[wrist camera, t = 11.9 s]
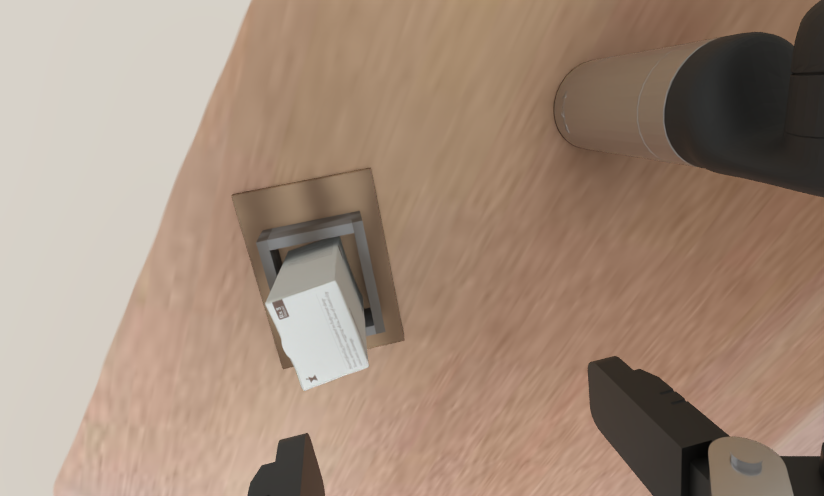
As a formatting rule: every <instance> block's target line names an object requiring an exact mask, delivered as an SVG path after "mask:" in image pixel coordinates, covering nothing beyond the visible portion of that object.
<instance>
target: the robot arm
mask: <svg viewBox="0 0 824 496" xmlns="http://www.w3.org/2000/svg"><path fill="white" fill-rule="evenodd" d="M554 115H555V121H556V124H557V127H558V129H559V131H560V133H561V134H562V136H563V137H564V138H565V139H566V140H567V141H568V142H569V143H571V144H573V145H574V146H576V147H580V148H583V149H589V150H595V151H601V152H606V153H613V154H619V155H625V156H631V157H638V158H644V159H650V160H656V161H663V162H669V163H676V164H682V165H689V166H695V167H700V168H706V169H708V170H710V171H713V172H716V173H720V174H724V175H730V176H735V177H740V178H745V179H749V180H754V181H758V182H762V183H767V184H771V185H775V186H779V187H783V188H787V189H791V190H795V191H799V192H803V193H807V194H811V195H816V196H820V197H824V0H821V1H819V2H818V3H817V4H815V5H814V6H813V7H812V8H811V9H810V10H809V11H808V12H807V13H806V15H805V16H804V17H803V19H802V21H801V23H800V26H799V29H798V32H797V36H796V40H795V44H794V46H793V45H792V44H791V43H790V42H788V41H787V40H785V39H783V38H781V37H779V36H777V35H774V34H768V33H763V32H751V33H741V34H736V35H730V36H725V37H719V38H714V39H708V40H703V41H697V42H692V43H687V44H681V45H676V46H670V47H665V48H659V49H653V50H648V51H642V52H637V53H631V54H625V55H620V56H613V57H608V58H603V59H597V60H592V61H588V62H585V63H583V64H580V65H579V66H577V67H576V68H575V69H573V70H572V71H571V72H570V73H569V74H568V75H567V76H566V77H565V79H564V80H563V82H562V83H561V85H560V87H559V90H558V92H557V95H556V99H555V105H554ZM588 381H589V398H590V410H591V414H592V417H593V419H594V422H595V424H596V426H597V427H598V429H599V430H600V431H601V433H602V434H603V435H604V436H605V438H606V439H607V440H608V441H609V442H610V444H611V445H612V446H613V447H614V449H615V450H616V451H617V452H618V453H619V455H620V456H621V457H622V458H623V460H624V461H625V462H626V463H627V464H628V466H629V467H630V468H631V469H632V470H633V472H634V473H635V474H636V475H637V477H638V478H639V479H640V480H641V481H642V483H643V484H644V485H645V486H646V488H647V489H648V490H649V491H650V492H651V494H652V495H653V496H824V443H823V445H822V449H821V456H779V455H778V454H777V453H776V452H774V451H773V450H772V449H770V448H769V447H767V446H765V445H763V444H761V443H759V442H757V441H754V440H751V439H747V438H742V437H730V436H729V435H728V434H726V433H725V432H724V431H723V430H722V429H720V428H719V427H718V426H717V425H715V424H714V423H713V422H712V421H711V420H709V419H708V418H707V417H706V416H705V415H703V414H702V413H701V412H700V411H699V410H697V409H696V408H695V407H694V406H693V405H691V404H690V403H689V402H688V401H687V402H686V401H685V399H684V398H683V397H682V396H681V395H679V394H678V393H677V392H674V391H673V389H672V388H671V387H670V386H669V385H667V384H666V383H665V382H664V381H663V380H661V379H660V378H659V377H657V376H655V375H652V374H650V373H648V372H646V371H643V370H641V369H637V370H632V369H631V368H630V367H629V366H628V365H627V364H626V363H624V362H623V361H622V360H621V359H620V358H619V357H617V356H613V357H609V358H605V359H601V360H597V361H593V362H590V363H589V365H588ZM248 496H325V491H324V485H323V480H322V476H321V472H320V469H319V466H318V462H317V459H316V456H315V452H314V449H313V446H312V442H311V439H310V436H309V434H308V433H305V434H302V435H298V436H294V437H290V438H286V439H282V440H280V441H279V443H278V448H277V454H276V460H275V462H273V463H269V464H265V465H262V466H261V467H260V469H259V470H258V472H257V474H256V475H255V477H254V478H253V480H252V481H251V483H250V487H249V491H248Z"/></svg>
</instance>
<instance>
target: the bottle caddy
mask: <svg viewBox="0 0 824 496" xmlns="http://www.w3.org/2000/svg"><path fill="white" fill-rule="evenodd" d="M231 197H232V200H233V203H234V207H235V210H236V213H237V217H238V220H239V224H240V227H241V230H242V234H243V237H244V240H245V244H246V247H247V250H248V254H249V257H250V260H251V264H252V267H253V270H254V274H255V277H256V281H257V284H258V287H259V291H260V294H261V297H262V301H263V304H264V307H265V311H266V314H267V317H268V321H269V324H270V327H271V331H272V334H273V338H274V341H275V344H276V348H277V351H278V354H279V358H280V361H281V364H282V368H283V369H286V368H290V367H294V366H293V364H292V362H291V359H290V358H289V357H288V356H287V355H286V353H285V352H284V350H283V347H282V342H281V337H280V335H279V333H278V331H277V328H276V326H275V324H274V322H273V320H272V318H271V316H270V314H269V312H268V310H267V308H266V305H265V302H266V300H267V298H268V296H269V294H270V291H271V289H272V287H273V285H274V283H275V280H276V278H277V276H278V273H279V271H280V269H281V267H282V264H283V262H284V260H285V258H286V255H287V253H288V251H290V250H293V249H296V248H299V247H302V246H305V245H308V244H311V243H314V242H317V241H320V240H323V239H327V238H332V237H337V236H340V238H341V241H342V245H343V248H344V251H345V254H346V257H347V260H348V263H349V266H350V268H351V271H352V274H353V276H354V279H355V281H356V284H357V286H358V288H359V290H360V292H361V294H362V297H363V305H364V318H365V330H366V344H367V349H370V348H374V347H379V346H383V345H387V344H391V343H396V342H400V341H404V335H403V330H402V325H401V319H400V314H399V309H398V304H397V299H396V294H395V289H394V284H393V279H392V274H391V268H390V263H389V258H388V253H387V248H386V243H385V238H384V233H383V228H382V223H381V217H380V212H379V207H378V202H377V197H376V192H375V187H374V182H373V177H372V172H371V168H366V169H361V170H356V171H351V172H346V173H340V174H335V175H330V176H325V177H320V178H315V179H309V180H304V181H299V182H294V183H289V184H284V185H278V186H273V187H268V188H263V189H258V190H253V191H248V192H242V193H237V194H233V195H232V196H231Z"/></svg>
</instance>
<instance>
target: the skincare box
mask: <svg viewBox="0 0 824 496" xmlns="http://www.w3.org/2000/svg"><path fill="white" fill-rule="evenodd" d="M265 305H266V308H267V310H268V312H269V314H270V316H271V318H272V320H273V322H274V324H275V326H276V328H277V331H278V333H279V335H280V337H281V342H282V347H283V350H284V352H285V353H286V355H287V356H288V357H289V358H290V359H291V362H292V364H293V366H294V368H295V370H296V373H297V376H298V378H299V381H300V384H301V387H302V389H303V390H304V391H306V390H308V389H311V388H313V387H316V386H319V385H322V384H324V383H327V382H330V381H332V380H335V379H337V378H340V377H342V376H345V375H348V374H351V373H354V372H357V371H360V370H363V369H365V368H368V367H369V364H368V356H367V344H366V330H365V318H364V305H363V297H362V294H361V292H360V290H359V288H358V286H357V284H356V281H355V279H354V276H353V274H352V271H351V268H350V266H349V263H348V260H347V257H346V254H345V251H344V248H343V245H342V241H341V238H340V236H337V237H332V238H327V239H323V240H320V241H317V242H314V243H311V244H308V245H305V246H302V247H299V248H296V249H293V250H290V251H288V253H287V255H286V258H285V260H284V262H283V264H282V267H281V269H280V271H279V273H278V276H277V278H276V280H275V283H274V285H273V287H272V289H271V291H270V294H269V296H268V298H267V300H266V302H265Z"/></svg>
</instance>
